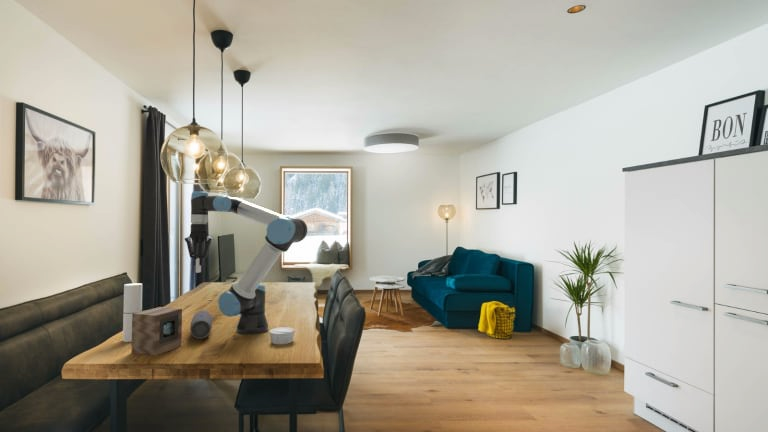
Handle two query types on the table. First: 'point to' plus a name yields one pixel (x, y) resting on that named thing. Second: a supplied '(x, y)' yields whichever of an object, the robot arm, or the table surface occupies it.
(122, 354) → the table surface
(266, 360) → the table surface
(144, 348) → the housing
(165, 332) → the peg
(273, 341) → the ramekin
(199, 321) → the bluetooth speaker
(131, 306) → the cylindrical container
